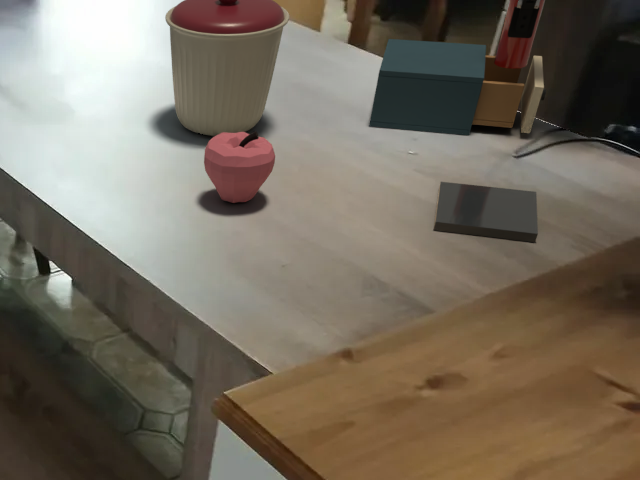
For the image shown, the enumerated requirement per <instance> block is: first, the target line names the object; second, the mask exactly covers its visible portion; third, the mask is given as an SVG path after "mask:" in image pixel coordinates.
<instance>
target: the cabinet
mask: <svg viewBox="0 0 640 480" xmlns="http://www.w3.org/2000/svg"><path fill="white" fill-rule="evenodd" d="M486 55H487V44H476V43H475V44H474V43H462V42H461V43H459V42H447V41H446V42H442V41H428V40H413V39H412V40H411V39H397V38H396V39H395V38H394V39H393V38H388V40H387V43H386V47H385V50H384V54H383V57H382V61H381V63H380V67H379V71H378V75H377V81H376V88H375V91H374V92H375V93H374V97H373V103H372V108H371V112H370V119H369V124H368V127H372V128H373V127H375V128H384V129H394V130H395V129H396V130H404V131H405V130H406V131H415V132H427V133H428V132H429V133H439V134H449V135H450V134H451V135H459V136H470V133H471V129H472V126H473V124H472V122H473V119H474V115H475V111H476V107H477V103H478V100H479V96H480V92H481V88H482V84H483V81H484V73H485V57H486Z"/></svg>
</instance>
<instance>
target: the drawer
mask: <svg viewBox="0 0 640 480" xmlns="http://www.w3.org/2000/svg"><path fill="white" fill-rule="evenodd" d="M495 56H496V55H488V54H486V57H485V73H484V81H483V84H482V88H481V92H480V96H479V100H478V103H477V107H476V111H475V115H474V119H473V122H472V125H474V126H475V125H476V126H488V127H496V128H497V127H498V128H508V129H509V128H511V129H512V128H513V127H514V123H515V120H516V116H517V112H518V109H519V107H520V133H521V134H530V133H531V131H532V128H533V126H534V121H535V118H536V115H537V111H538V109H539V106H540V102H541V101H544V100H545V98H546V94H547V88H545V85H544V84H545V82H544V81H545V80H544V66H543V56H542V55H533V57H532V59H531V63H530V66H529V70H528V74H527V77H526V79H525V83H521V82H519V78H520V75H521V72H522V68H518V69H508V68H502V67H499V66H497V65H495V64H494V60H495ZM519 105H520V106H519Z"/></svg>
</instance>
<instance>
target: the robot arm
mask: <svg viewBox="0 0 640 480" xmlns="http://www.w3.org/2000/svg"><path fill="white" fill-rule="evenodd" d="M539 3H540V0H518V3H517V7H514V11H513V15H512V19H511V22H510V26H509V30H508V37H514V38H530V37H531V36H532V34H533V30H534V26H535V23H536V19H537V15H538V12H539Z"/></svg>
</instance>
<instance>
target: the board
mask: <svg viewBox="0 0 640 480" xmlns="http://www.w3.org/2000/svg"><path fill="white" fill-rule="evenodd" d="M537 200H538V199H537V191H533V190H525V189H524V190H523V189H514V188H504V187H497V186H496V187H495V186H486V185H477V184H466V183H458V182H449V181H440V182H439V186H438V191H437V199H436V206H435V214H434V222H433V231H437V232H438V231H439V232H446V233H456V234H462V235H469V236H470V235H472V236H477V237H478V236H479V237H488V238H494V239H495V238H497V239H503V240H510V241H511V240H513V241H522V242H529V243H536V242H537V239H538V235H539V229H538V228H539V224H538V204H537V203H538V201H537Z"/></svg>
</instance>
